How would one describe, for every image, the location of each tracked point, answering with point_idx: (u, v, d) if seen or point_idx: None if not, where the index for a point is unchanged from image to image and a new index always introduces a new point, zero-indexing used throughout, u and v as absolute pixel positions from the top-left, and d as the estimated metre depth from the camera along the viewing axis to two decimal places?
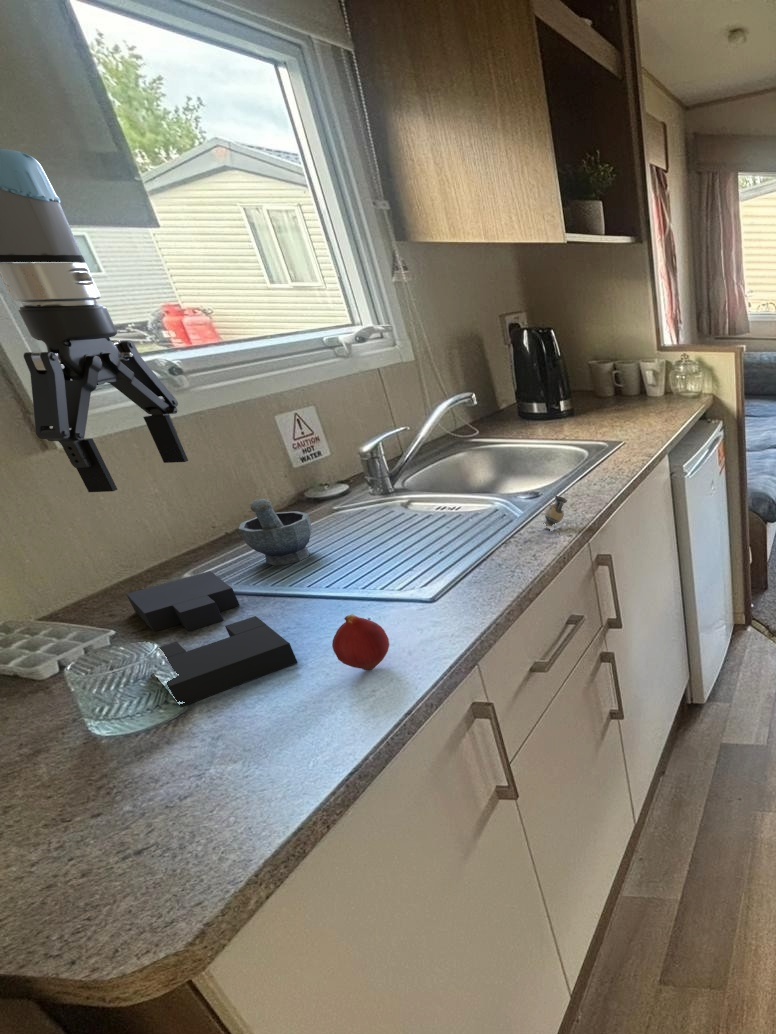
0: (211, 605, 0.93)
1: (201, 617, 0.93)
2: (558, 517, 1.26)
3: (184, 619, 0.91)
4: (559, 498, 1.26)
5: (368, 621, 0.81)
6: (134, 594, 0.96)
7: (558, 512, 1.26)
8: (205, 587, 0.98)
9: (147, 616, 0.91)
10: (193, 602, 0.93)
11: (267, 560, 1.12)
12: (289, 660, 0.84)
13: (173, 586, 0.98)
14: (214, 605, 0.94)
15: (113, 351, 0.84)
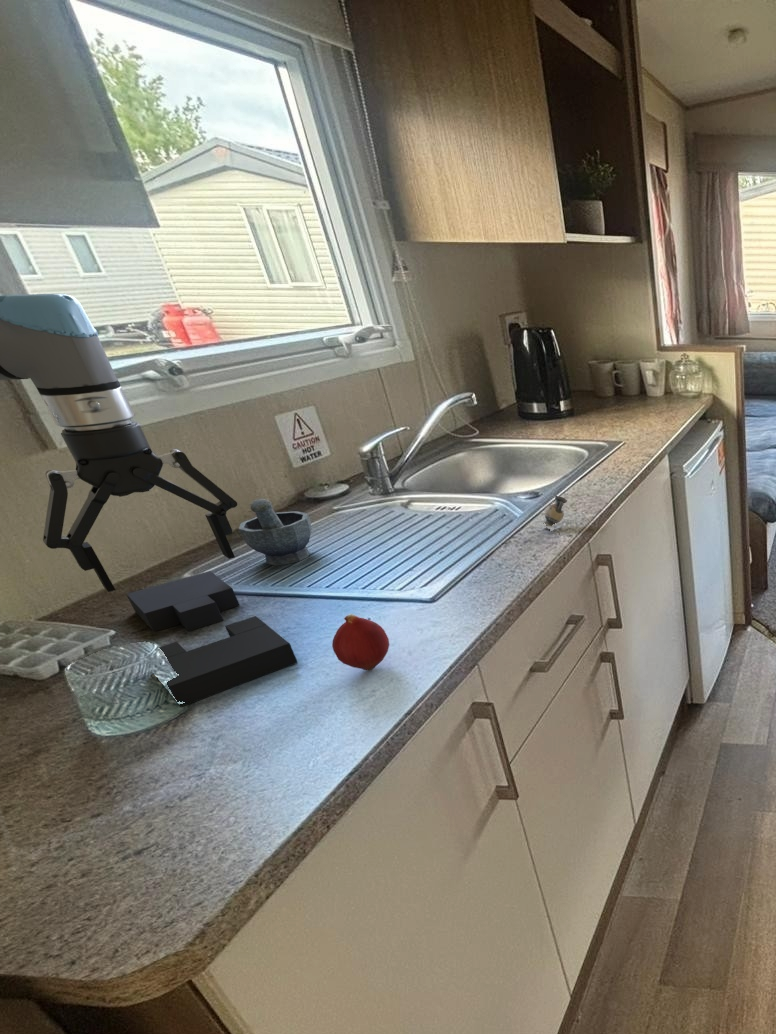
0: (211, 605, 0.93)
1: (201, 617, 0.93)
2: (558, 517, 1.26)
3: (184, 619, 0.91)
4: (559, 498, 1.26)
5: (368, 621, 0.81)
6: (134, 594, 0.96)
7: (558, 512, 1.26)
8: (205, 587, 0.98)
9: (147, 616, 0.91)
10: (193, 602, 0.93)
11: (267, 560, 1.12)
12: (289, 660, 0.84)
13: (173, 586, 0.98)
14: (214, 605, 0.94)
15: (151, 464, 0.90)
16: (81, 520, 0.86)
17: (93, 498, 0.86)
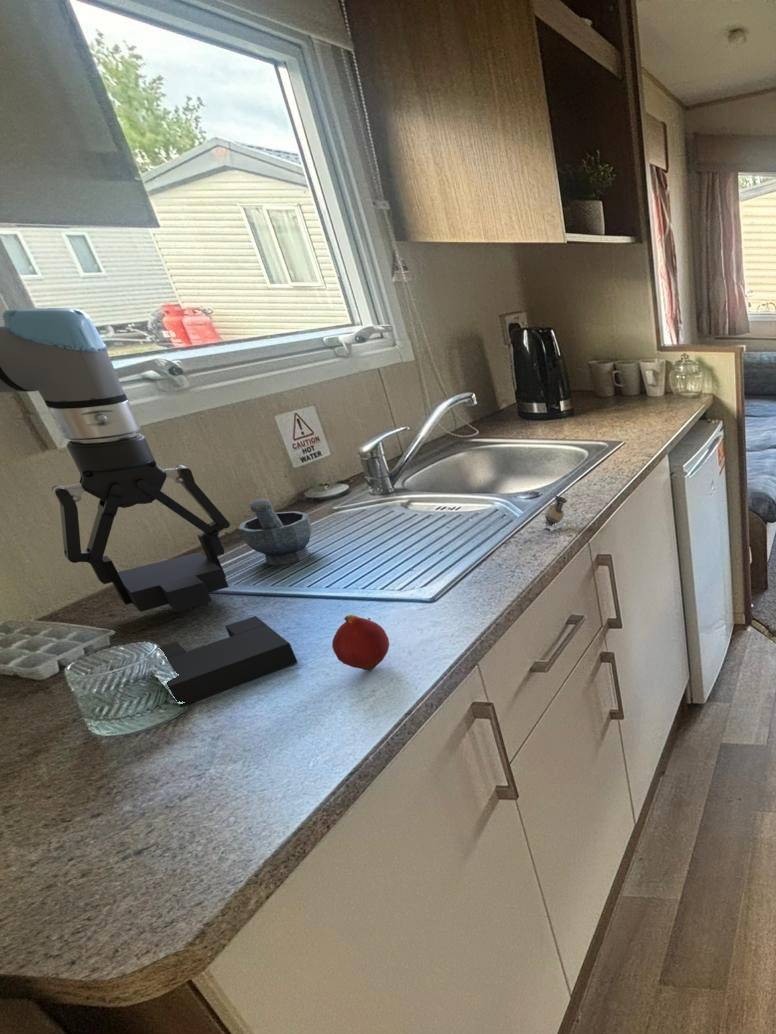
0: (199, 585, 0.92)
1: (189, 598, 0.91)
2: (558, 517, 1.26)
3: (171, 599, 0.90)
4: (559, 498, 1.26)
5: (368, 621, 0.81)
6: (121, 574, 0.94)
7: (558, 512, 1.26)
8: (193, 568, 0.96)
9: (133, 595, 0.89)
10: (181, 583, 0.92)
11: (267, 560, 1.12)
12: (289, 660, 0.84)
13: (160, 566, 0.96)
14: (202, 585, 0.92)
15: (155, 476, 0.90)
16: (96, 534, 0.87)
17: (103, 512, 0.87)
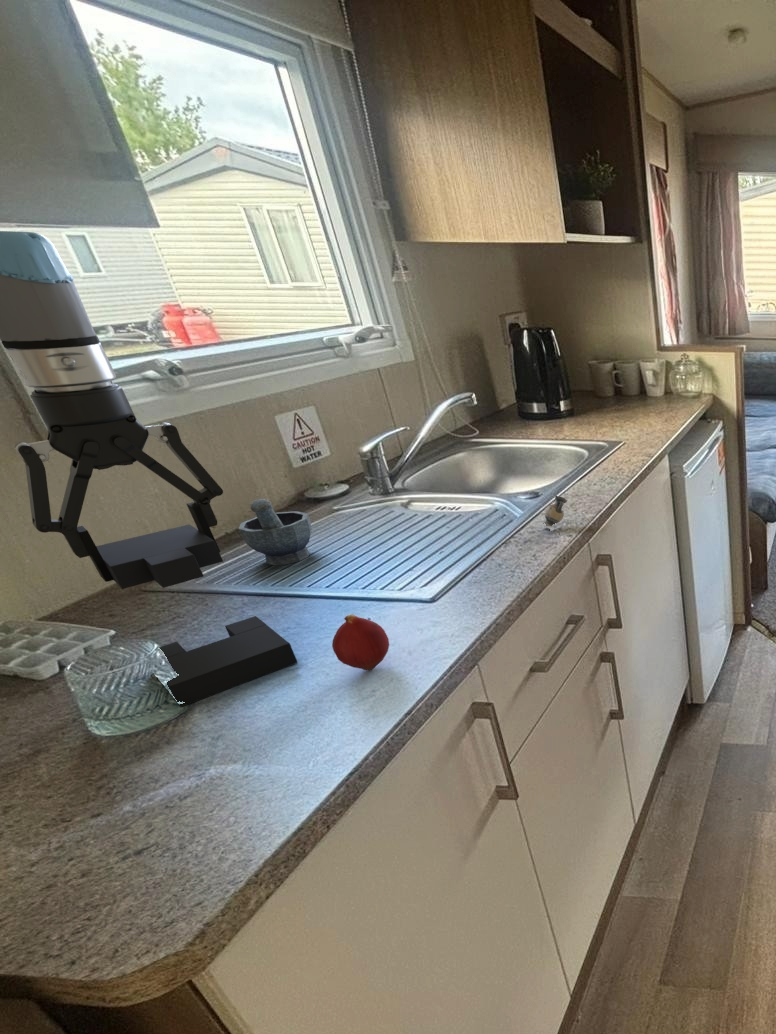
0: (188, 558, 0.80)
1: (177, 572, 0.80)
2: (558, 517, 1.26)
3: (157, 573, 0.78)
4: (559, 498, 1.26)
5: (368, 621, 0.81)
6: (100, 547, 0.83)
7: (558, 512, 1.26)
8: (182, 540, 0.85)
9: (114, 570, 0.78)
10: (168, 555, 0.80)
11: (267, 560, 1.12)
12: (289, 660, 0.84)
13: (145, 539, 0.85)
14: (192, 558, 0.81)
15: (135, 433, 0.79)
16: (68, 500, 0.76)
17: (75, 473, 0.76)
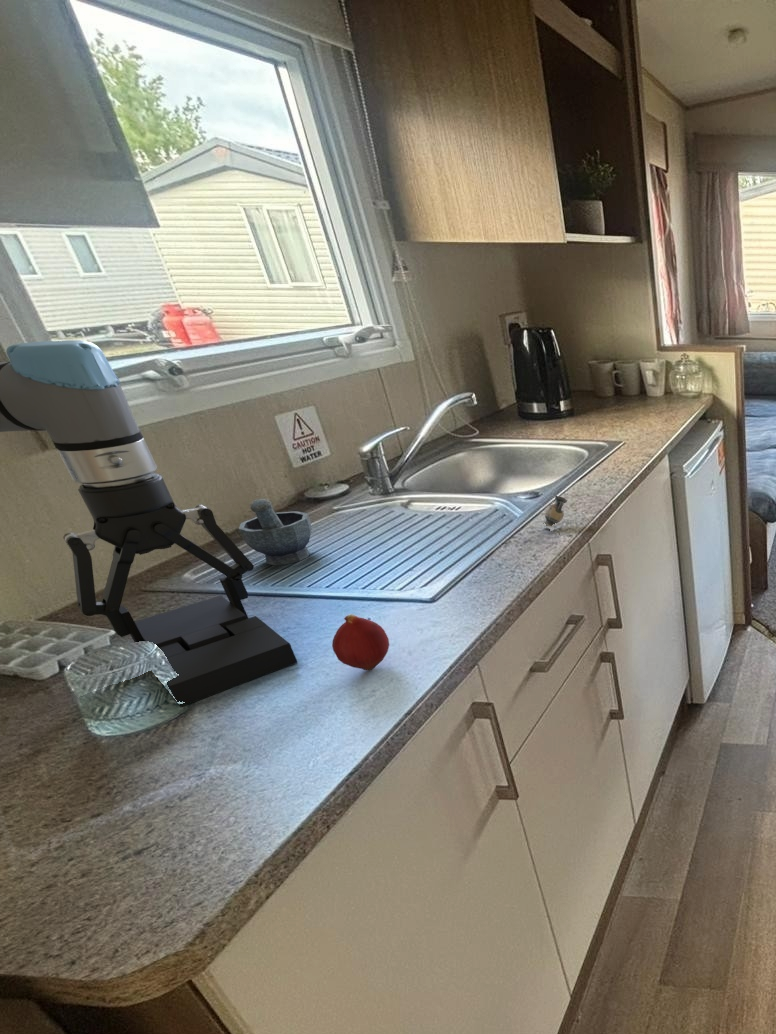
0: (223, 635, 0.85)
1: None
2: (558, 517, 1.26)
3: None
4: (559, 498, 1.26)
5: (368, 621, 0.81)
6: (139, 623, 0.87)
7: (558, 512, 1.26)
8: (216, 615, 0.89)
9: None
10: (204, 633, 0.85)
11: (267, 560, 1.12)
12: (289, 660, 0.84)
13: (181, 613, 0.89)
14: (226, 635, 0.85)
15: (174, 518, 0.83)
16: (112, 584, 0.81)
17: (119, 560, 0.80)
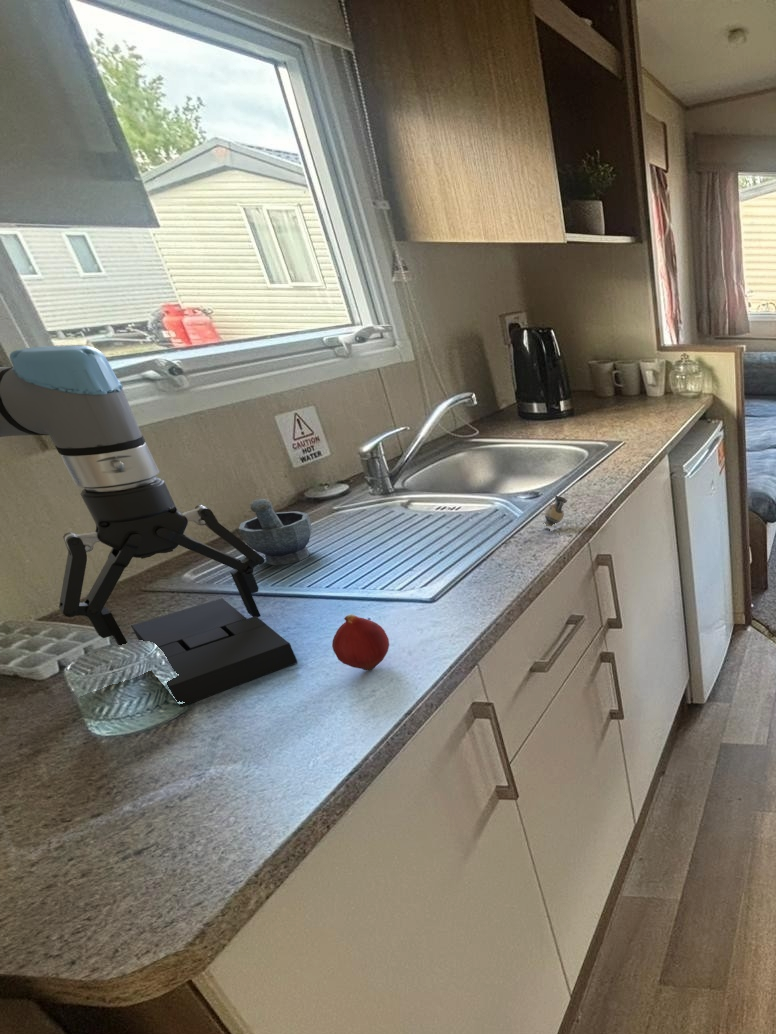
0: (224, 638, 0.85)
1: None
2: (558, 517, 1.26)
3: None
4: (559, 498, 1.26)
5: (368, 621, 0.81)
6: (140, 626, 0.87)
7: (558, 512, 1.26)
8: (217, 618, 0.89)
9: None
10: (205, 636, 0.85)
11: (267, 560, 1.12)
12: (289, 660, 0.84)
13: (182, 616, 0.90)
14: None
15: (176, 522, 0.84)
16: (100, 585, 0.80)
17: (114, 562, 0.80)
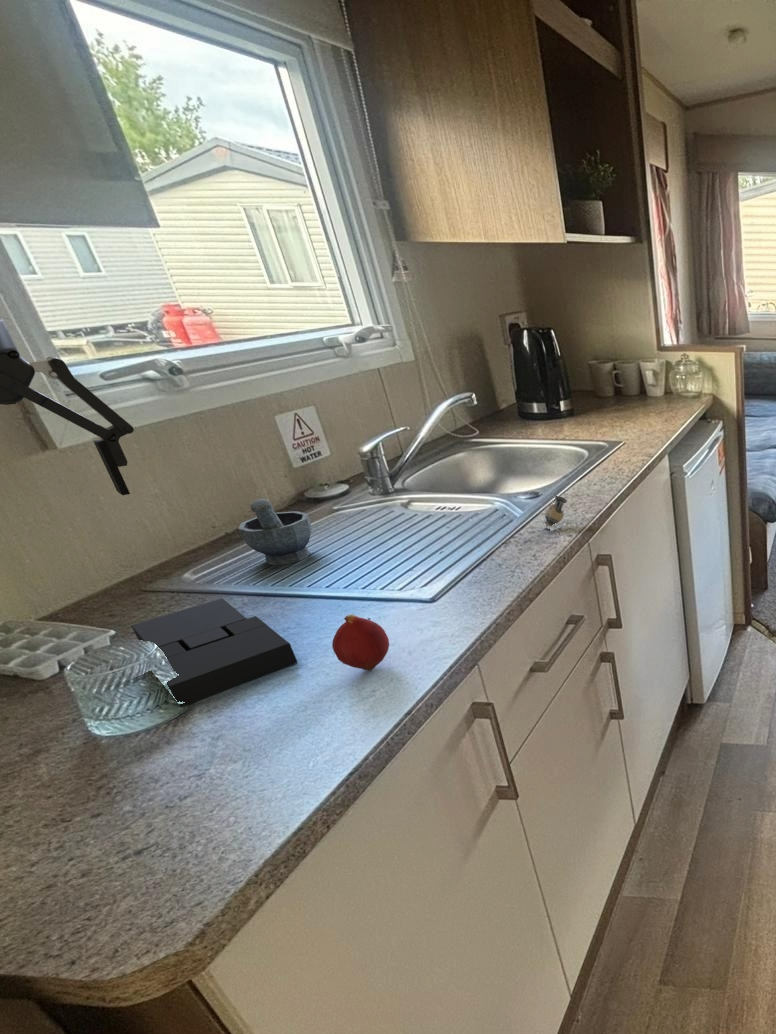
0: (224, 638, 0.85)
1: None
2: (558, 517, 1.26)
3: None
4: (559, 498, 1.26)
5: (368, 621, 0.81)
6: (140, 626, 0.87)
7: (558, 512, 1.26)
8: (217, 618, 0.89)
9: None
10: (205, 636, 0.85)
11: (267, 560, 1.12)
12: (289, 660, 0.84)
13: (182, 616, 0.90)
14: None
15: (19, 370, 0.74)
16: None
17: None
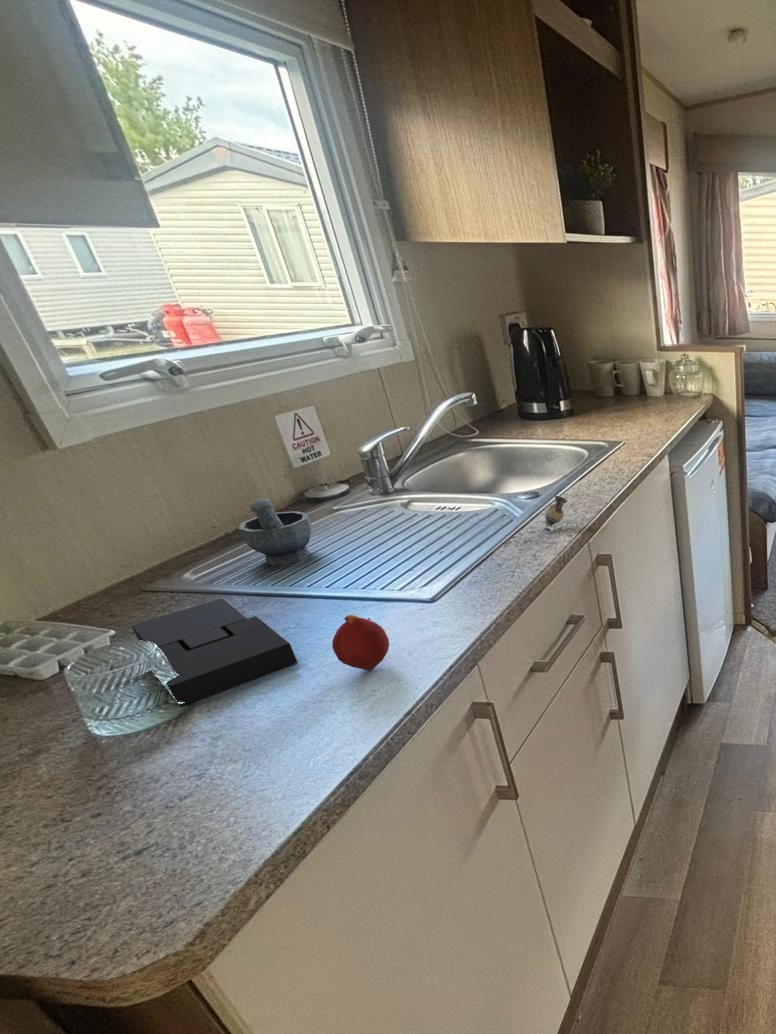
0: (224, 638, 0.85)
1: None
2: (558, 517, 1.26)
3: None
4: (559, 498, 1.26)
5: (368, 621, 0.81)
6: (140, 626, 0.87)
7: (558, 512, 1.26)
8: (217, 618, 0.89)
9: None
10: (205, 636, 0.85)
11: (267, 560, 1.12)
12: (289, 660, 0.84)
13: (182, 616, 0.90)
14: None
15: None
16: None
17: None
